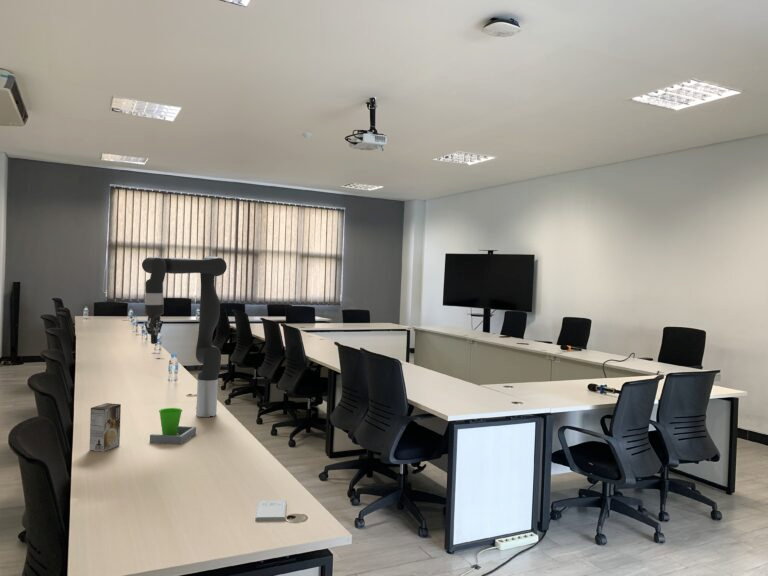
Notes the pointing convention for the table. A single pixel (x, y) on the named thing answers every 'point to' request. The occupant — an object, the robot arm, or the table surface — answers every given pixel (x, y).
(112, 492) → the table surface
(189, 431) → the grey cradle
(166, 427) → the cup
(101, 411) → the coffee box
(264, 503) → the external hard drive
